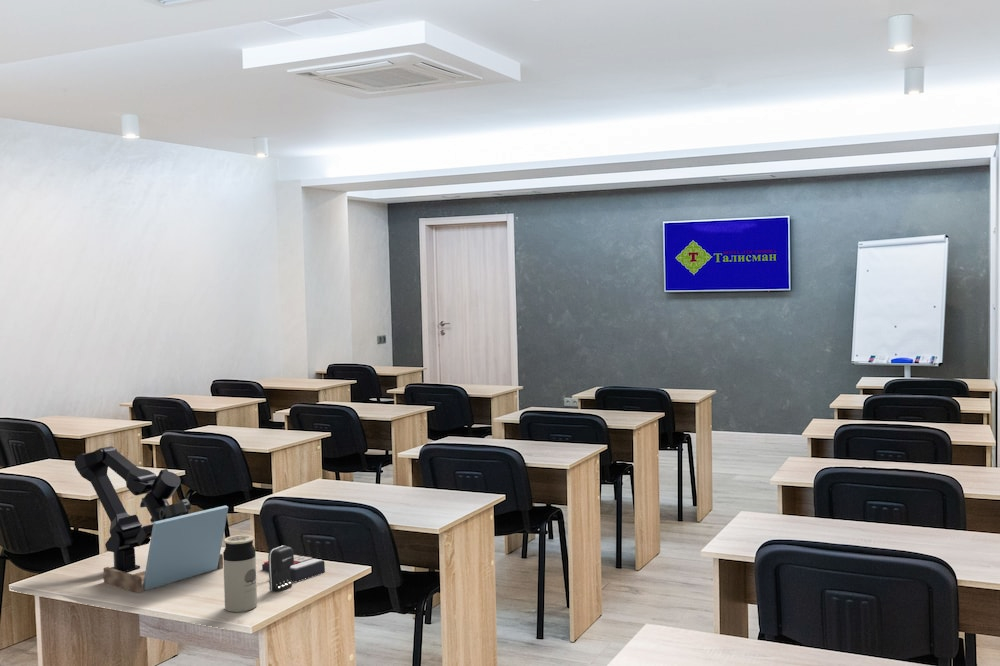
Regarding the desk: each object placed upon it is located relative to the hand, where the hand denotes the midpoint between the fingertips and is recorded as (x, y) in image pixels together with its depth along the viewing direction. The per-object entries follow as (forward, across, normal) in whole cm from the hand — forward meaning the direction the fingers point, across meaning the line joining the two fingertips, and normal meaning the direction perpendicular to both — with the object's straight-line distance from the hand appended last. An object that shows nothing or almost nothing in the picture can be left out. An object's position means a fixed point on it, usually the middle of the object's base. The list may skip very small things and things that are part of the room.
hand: (184, 552), depth 253 cm
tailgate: (+5, 0, +6) cm, 8 cm away
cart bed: (-1, 0, +13) cm, 13 cm away
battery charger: (+26, +12, -12) cm, 31 cm away
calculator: (+19, +24, -5) cm, 31 cm away
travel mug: (+28, -4, -14) cm, 31 cm away
